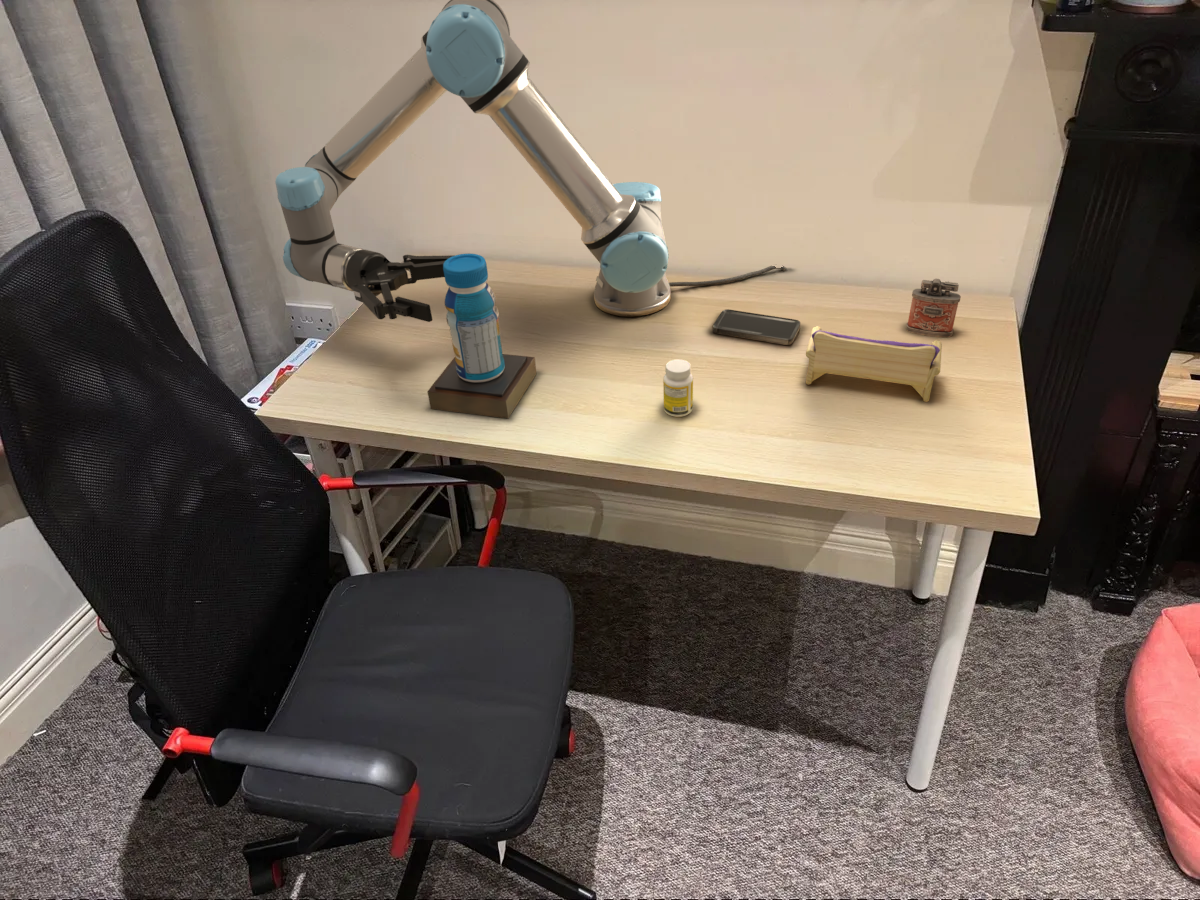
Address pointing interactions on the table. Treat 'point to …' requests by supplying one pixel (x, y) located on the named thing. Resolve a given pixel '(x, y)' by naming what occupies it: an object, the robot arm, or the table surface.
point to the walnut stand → (484, 389)
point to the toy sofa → (874, 360)
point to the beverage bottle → (473, 319)
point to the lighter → (933, 308)
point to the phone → (756, 327)
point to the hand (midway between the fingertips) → (456, 295)
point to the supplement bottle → (678, 388)
